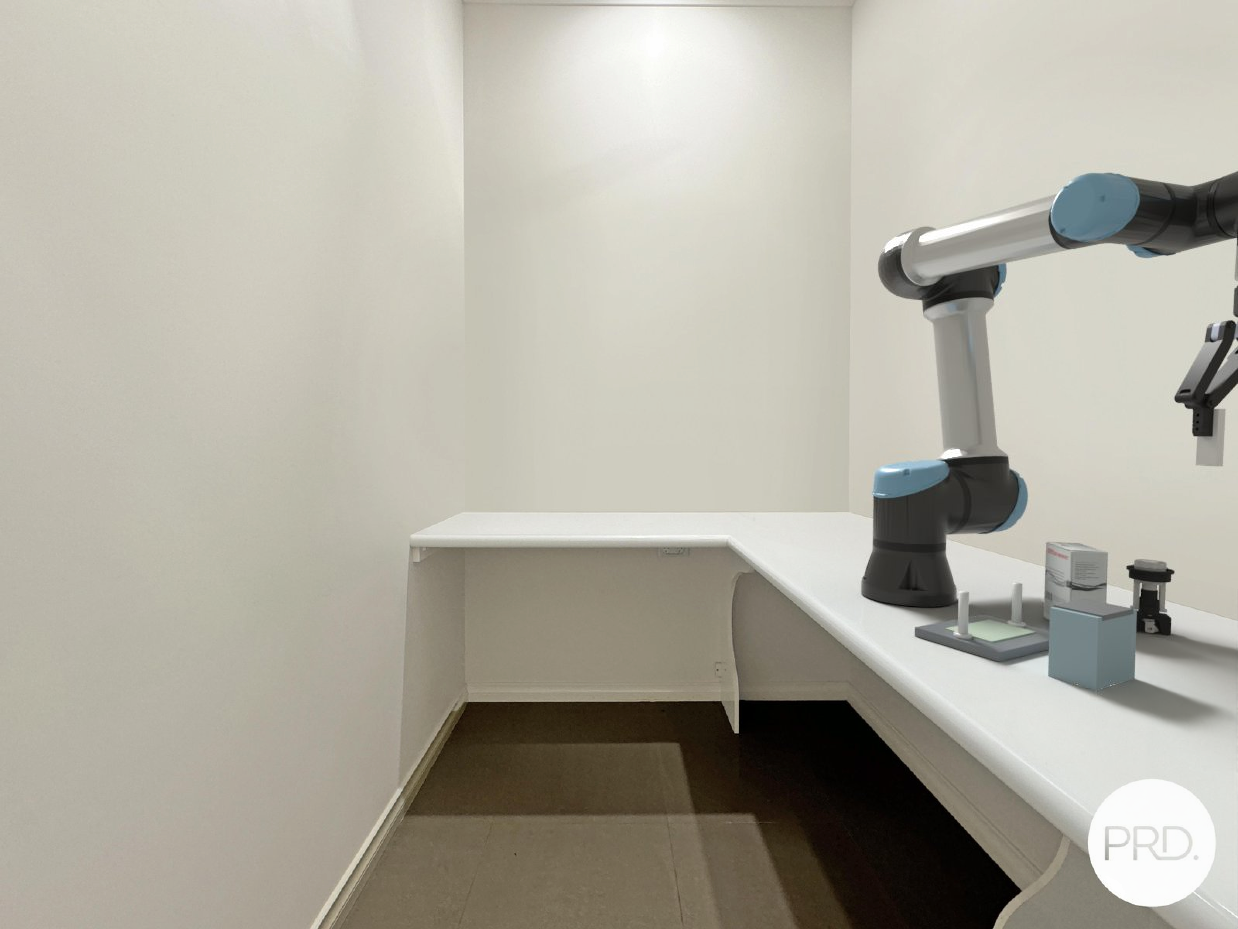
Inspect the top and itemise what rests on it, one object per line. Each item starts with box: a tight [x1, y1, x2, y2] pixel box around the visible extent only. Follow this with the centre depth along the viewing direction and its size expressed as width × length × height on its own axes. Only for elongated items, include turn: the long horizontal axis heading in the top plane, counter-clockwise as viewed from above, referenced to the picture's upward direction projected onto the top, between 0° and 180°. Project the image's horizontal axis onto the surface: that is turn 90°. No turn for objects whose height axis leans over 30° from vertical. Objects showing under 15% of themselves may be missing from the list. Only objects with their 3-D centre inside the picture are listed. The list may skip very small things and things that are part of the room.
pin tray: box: [914, 582, 1049, 663], centre depth 89 cm, size 12×15×7 cm
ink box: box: [1043, 541, 1109, 621], centre depth 97 cm, size 8×5×12 cm, turn 168°
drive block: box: [1047, 599, 1137, 691], centre depth 75 cm, size 5×8×8 cm, turn 118°
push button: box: [1126, 558, 1176, 636], centre depth 94 cm, size 7×5×10 cm
